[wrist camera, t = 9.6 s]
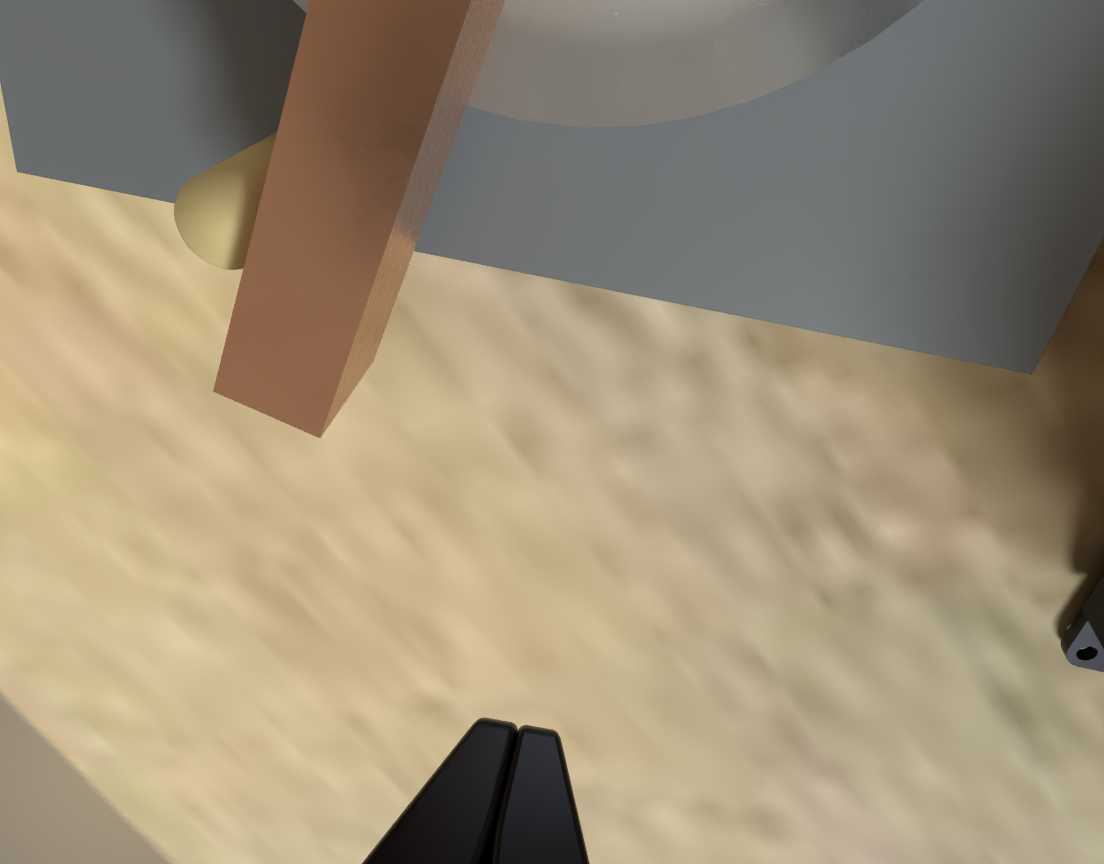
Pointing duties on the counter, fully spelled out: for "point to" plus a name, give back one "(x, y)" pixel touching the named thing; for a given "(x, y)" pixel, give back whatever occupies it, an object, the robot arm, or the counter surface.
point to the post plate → (650, 166)
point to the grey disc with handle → (430, 129)
